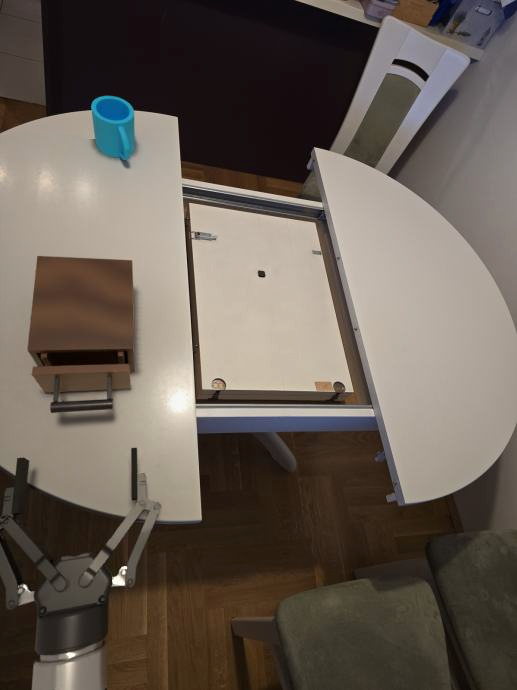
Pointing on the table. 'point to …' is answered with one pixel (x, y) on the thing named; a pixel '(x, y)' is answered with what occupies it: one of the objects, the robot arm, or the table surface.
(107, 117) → the mug
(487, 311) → the table surface
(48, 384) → the drawer
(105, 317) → the cabinet
